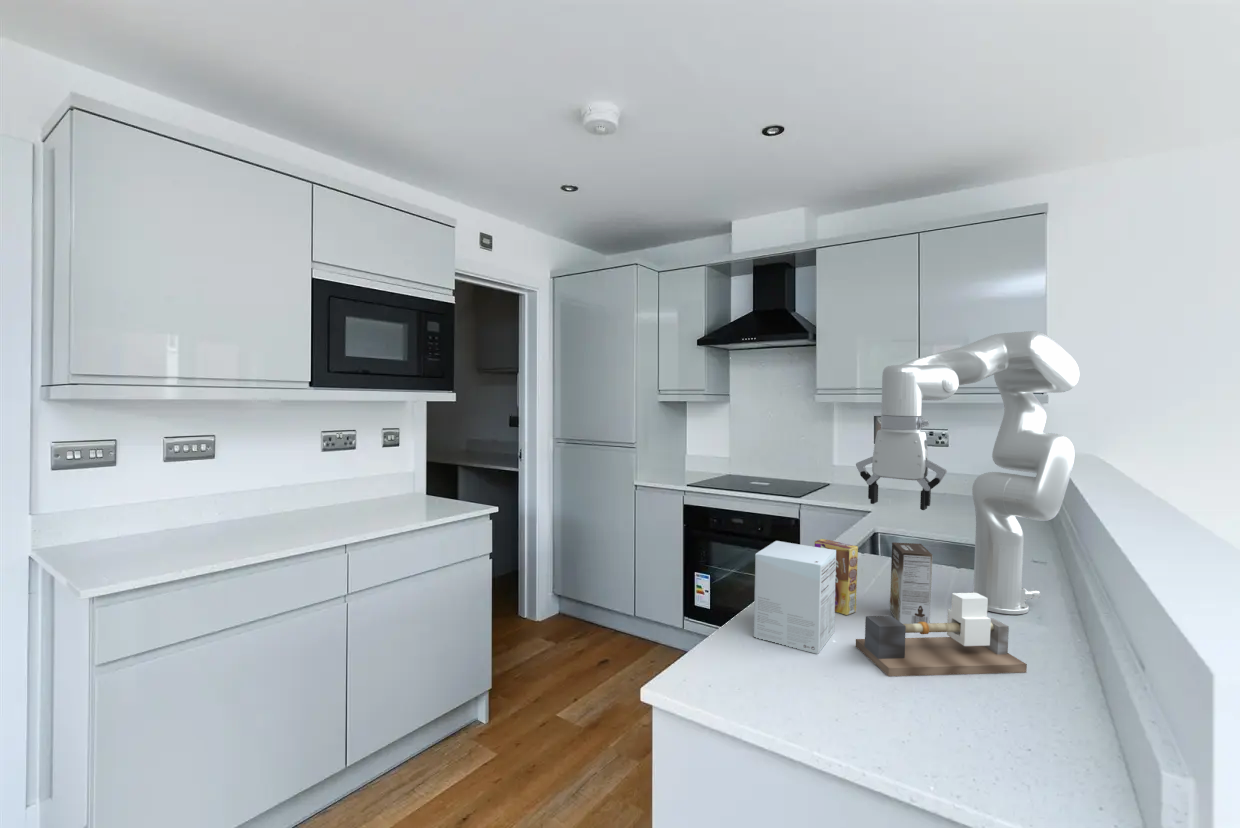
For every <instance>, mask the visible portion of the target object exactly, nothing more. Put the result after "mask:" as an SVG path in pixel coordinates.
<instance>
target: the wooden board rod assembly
mask: <svg viewBox="0 0 1240 828" xmlns="http://www.w3.org/2000/svg"><path fill="white" fill-rule="evenodd" d="M989 618H990V619H991V629H990V645H987V646H963V645H962V644H960V643H959V642H957V641H956V640H954V639H953V638H951V637H950V636H935V637H933V636H931V637H930V636H929V637H906V634H912V633H914V634H917V633H919V634H920V635H928V634H930V633H947V632H960V630H961V623H947V622H936V623H935V622H930V623H926V622H918V624H902V623H901V622H899V621H898V620H896V619H895V617H894V616H892V615H890V614H889V615H866V616H865V619H864V620H865V622H864V624H865V625H864V626H865V627H864V630H865V631H864V638H855V647H856V649H858V650H859V652H861V653H862V654H863V655H864V656H865V657H867V659H868V660H870V662H872V663H873V664H874V665H875V666H877V668H878V669H880V670H881V671H882V672H883V673H885V675H887V676H888V677H909V676H910V677H914V676H915V677H916V676H946V675H947V676H948V675H980V674H981V675H982V674H1013V673H1014V674H1018V673H1020V674H1021V673H1027V670H1028V669H1027V668H1028V667H1027V666H1028V665H1027V662H1024V661H1022V660H1021V659H1019V658H1017V657H1015V656H1014V655H1012V654H1010V652H1009V631H1010V630H1009V629H1010V626H1009V625H1007V624H1005V623H1004V622H1002V621H1000V620H998V619H996V618H994V617H989Z"/></svg>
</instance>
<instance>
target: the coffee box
mask: <svg viewBox="0 0 1240 828" xmlns="http://www.w3.org/2000/svg"><path fill="white" fill-rule="evenodd" d="M933 558H934V557H933V554H932V553H931V552H930V551H929V550H928V549H927V548H926V547H925V546H924V544H922V543H914V542H913V543H910V542H909V543H908V542H891V560H890V561H891V565H890V570H891V571H890V596H889V597H890V598H889V599H890V600H889V610H890V612H891V614H892V615H893V617H894V618H895V619H896V620H898V621H899V622H901V623H902V624H918V622H926V623H931V622H930V621H931V620H930V618H931V598H932V577H933V576H932V575H933V572H932V571H933Z"/></svg>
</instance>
